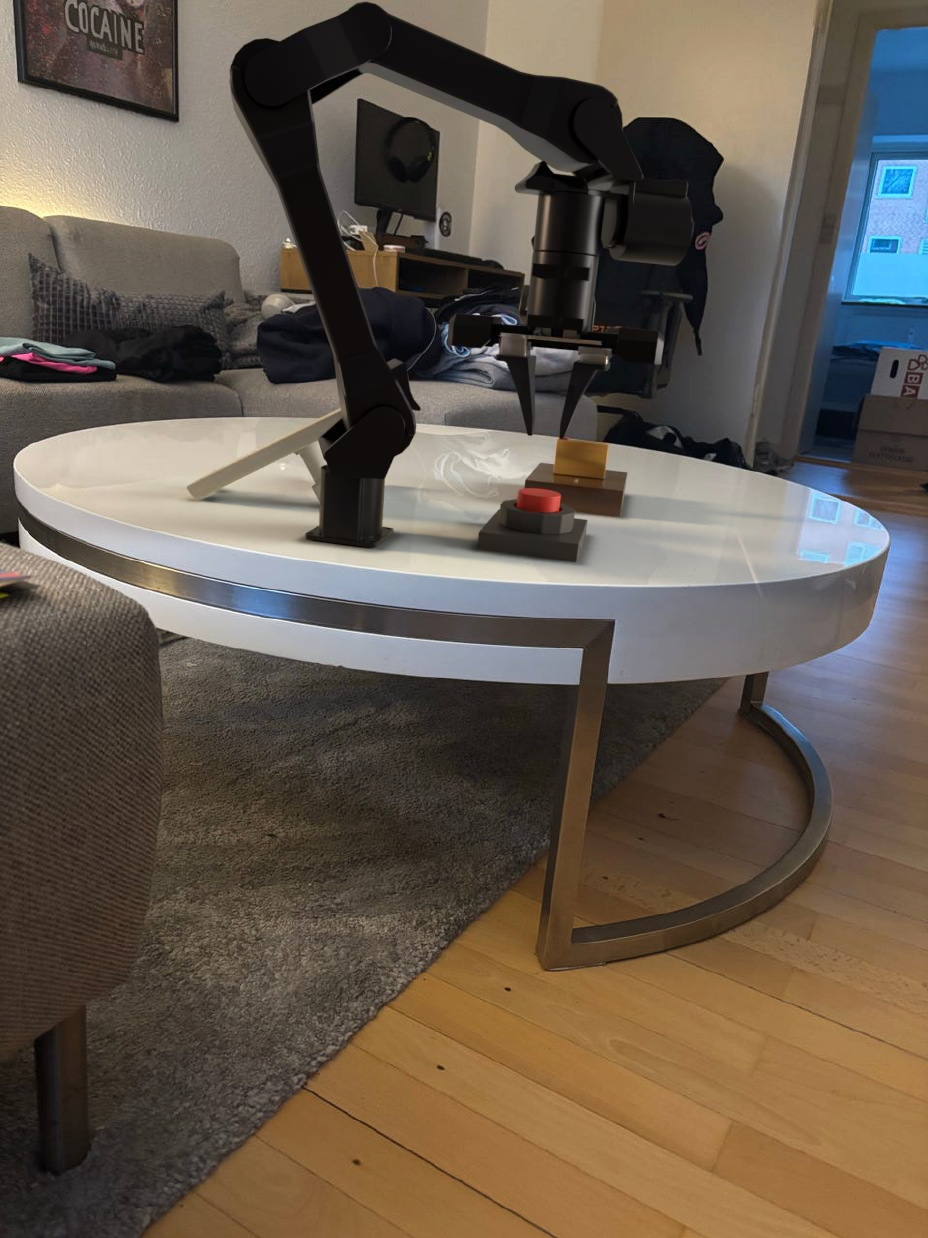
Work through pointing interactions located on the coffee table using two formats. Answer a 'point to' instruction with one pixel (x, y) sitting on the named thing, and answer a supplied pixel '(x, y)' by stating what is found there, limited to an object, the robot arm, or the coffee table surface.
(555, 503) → the bell button
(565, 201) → the robot arm
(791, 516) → the coffee table surface
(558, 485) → the plate
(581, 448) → the upright gold plate
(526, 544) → the button base
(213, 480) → the door handle
